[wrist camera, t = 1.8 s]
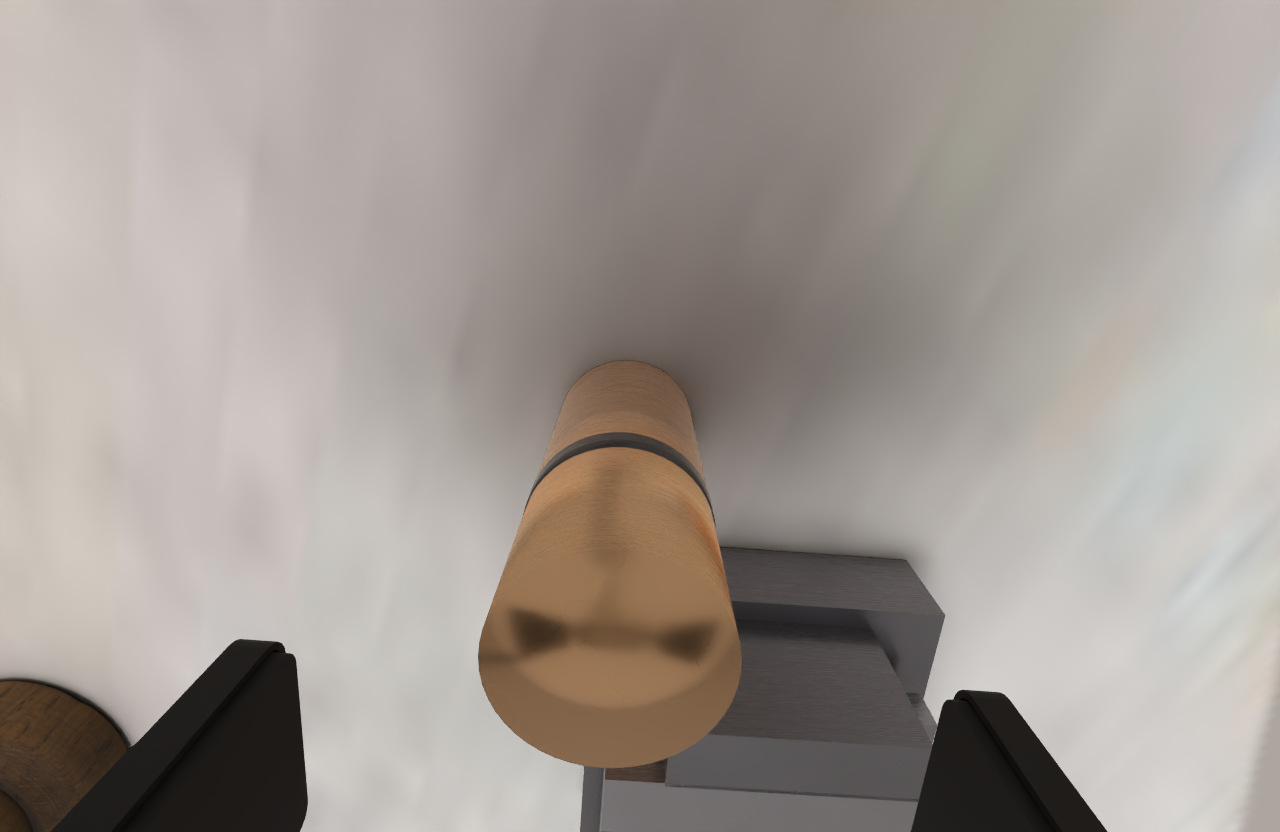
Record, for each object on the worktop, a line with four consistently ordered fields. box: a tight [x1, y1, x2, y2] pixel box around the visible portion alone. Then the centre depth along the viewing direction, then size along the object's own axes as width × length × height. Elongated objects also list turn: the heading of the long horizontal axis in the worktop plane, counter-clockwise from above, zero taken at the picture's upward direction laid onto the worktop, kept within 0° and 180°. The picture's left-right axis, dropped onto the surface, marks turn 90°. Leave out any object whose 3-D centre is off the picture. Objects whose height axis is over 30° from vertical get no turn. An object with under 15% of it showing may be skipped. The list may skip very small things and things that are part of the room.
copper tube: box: [478, 360, 742, 768], centre depth 15 cm, size 4×4×11 cm
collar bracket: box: [580, 547, 945, 832], centre depth 20 cm, size 11×10×7 cm
